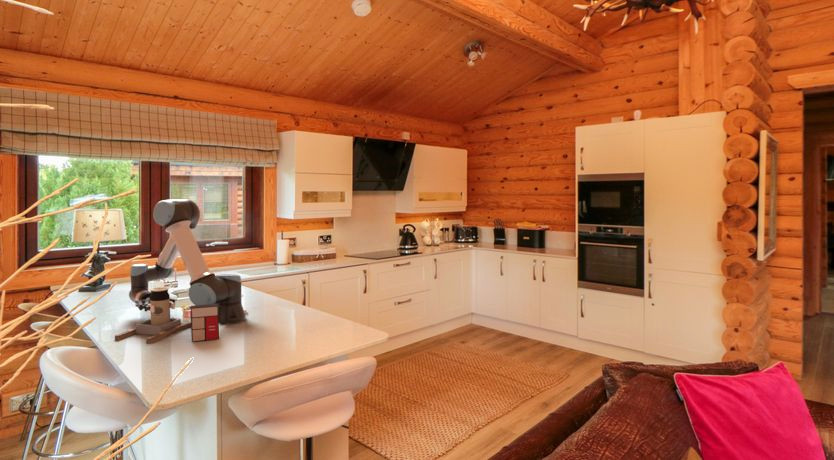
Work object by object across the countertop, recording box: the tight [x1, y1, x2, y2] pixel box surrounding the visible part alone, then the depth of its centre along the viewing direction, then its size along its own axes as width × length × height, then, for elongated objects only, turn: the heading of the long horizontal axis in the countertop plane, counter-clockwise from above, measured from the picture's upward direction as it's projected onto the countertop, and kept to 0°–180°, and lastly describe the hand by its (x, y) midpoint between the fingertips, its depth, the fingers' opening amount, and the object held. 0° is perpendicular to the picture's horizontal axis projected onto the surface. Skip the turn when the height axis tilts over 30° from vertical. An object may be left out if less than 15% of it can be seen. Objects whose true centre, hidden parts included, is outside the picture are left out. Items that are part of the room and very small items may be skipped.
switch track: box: [114, 321, 191, 344], centre depth 223 cm, size 18×26×2 cm
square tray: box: [134, 317, 182, 336], centre depth 225 cm, size 13×13×4 cm
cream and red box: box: [190, 304, 220, 343], centre depth 214 cm, size 11×4×15 cm, turn 114°
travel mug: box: [149, 286, 171, 326], centre depth 226 cm, size 8×8×18 cm
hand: (163, 307), depth 223 cm, fingers closed on travel mug, 8 cm apart
